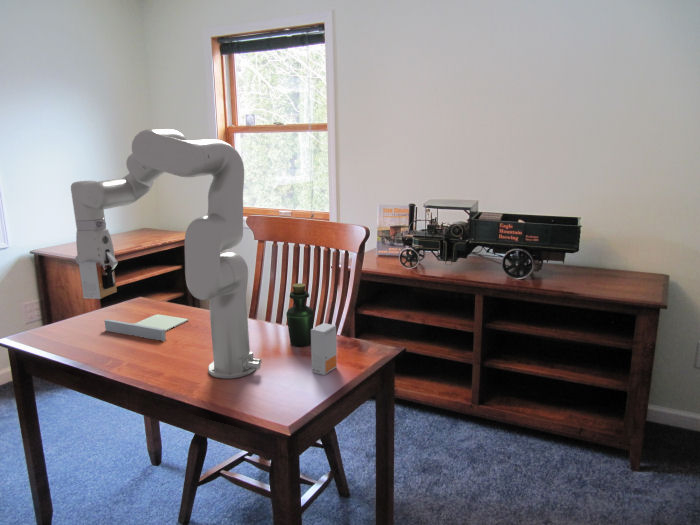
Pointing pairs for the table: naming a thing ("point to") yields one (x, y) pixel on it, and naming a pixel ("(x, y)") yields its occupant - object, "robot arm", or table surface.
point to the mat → (162, 321)
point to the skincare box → (323, 348)
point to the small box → (94, 281)
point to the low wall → (135, 329)
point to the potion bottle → (300, 317)
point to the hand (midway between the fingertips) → (99, 286)
